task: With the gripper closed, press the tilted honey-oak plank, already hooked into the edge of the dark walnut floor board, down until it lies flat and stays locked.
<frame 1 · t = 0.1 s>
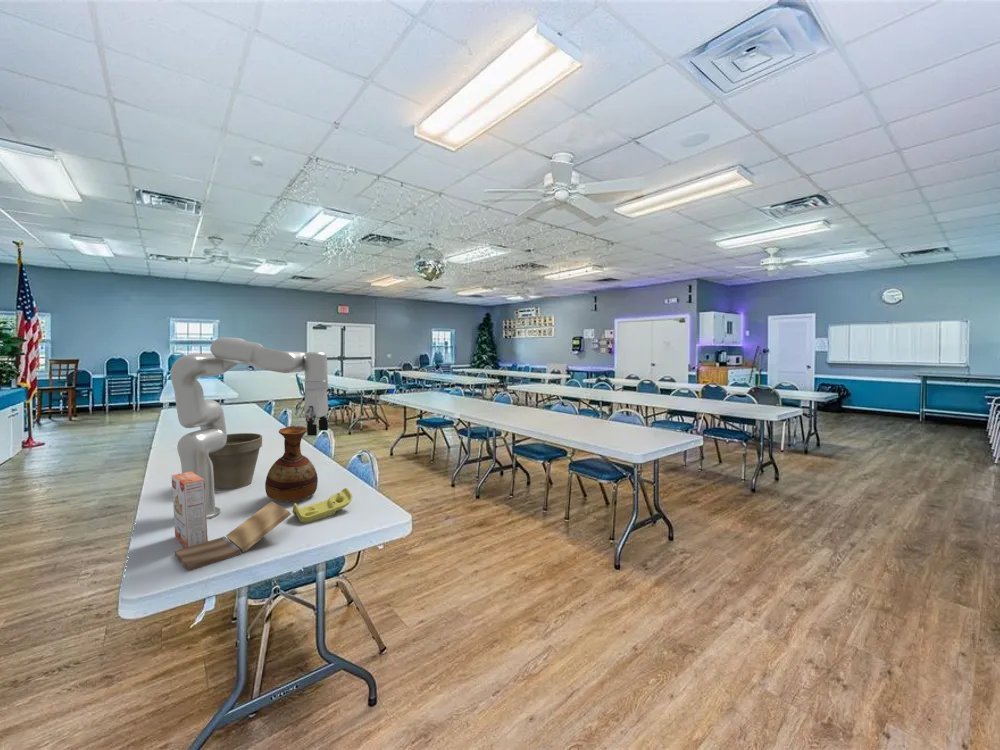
hand: (318, 432, 155), 31 cm above the table, tool pointing down, fingers open, 9 cm apart
plastic component: (324, 514, 160), on the table
oak plank: (258, 525, 138), point 5 cm above the table, hinge at 28.0°
ceramic pitcher: (292, 498, 177), on the table
plant pot: (232, 485, 194), on the table
walnut board: (207, 555, 127), on the table
cracker box: (190, 541, 138), on the table
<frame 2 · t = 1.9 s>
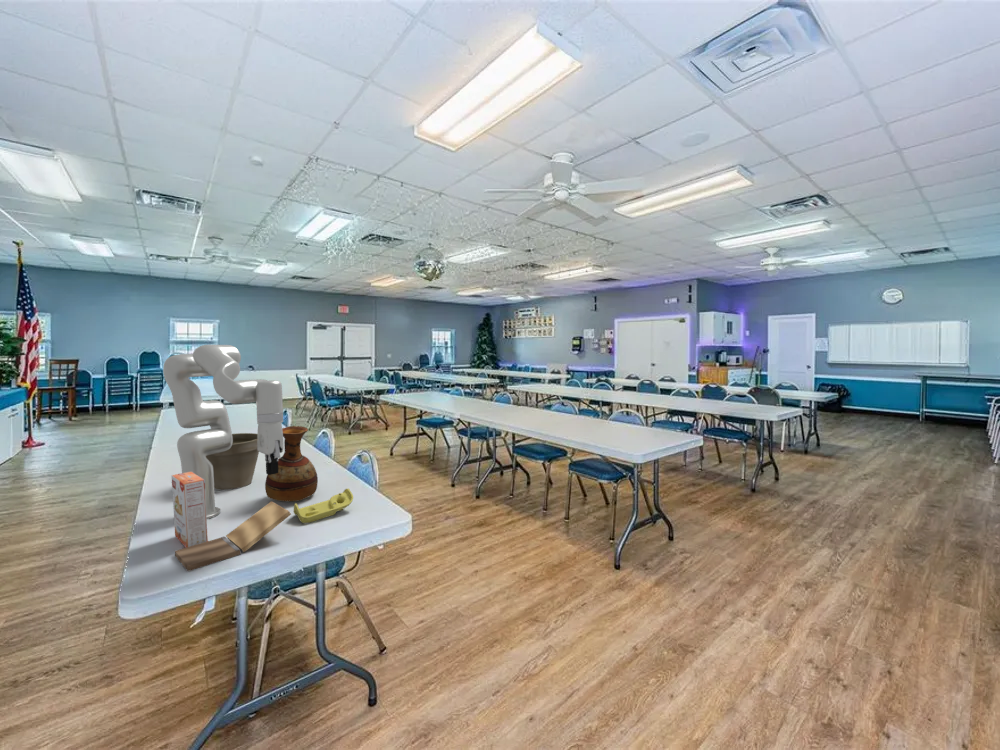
hand: (272, 473, 140), 21 cm above the table, tool pointing down, fingers closed
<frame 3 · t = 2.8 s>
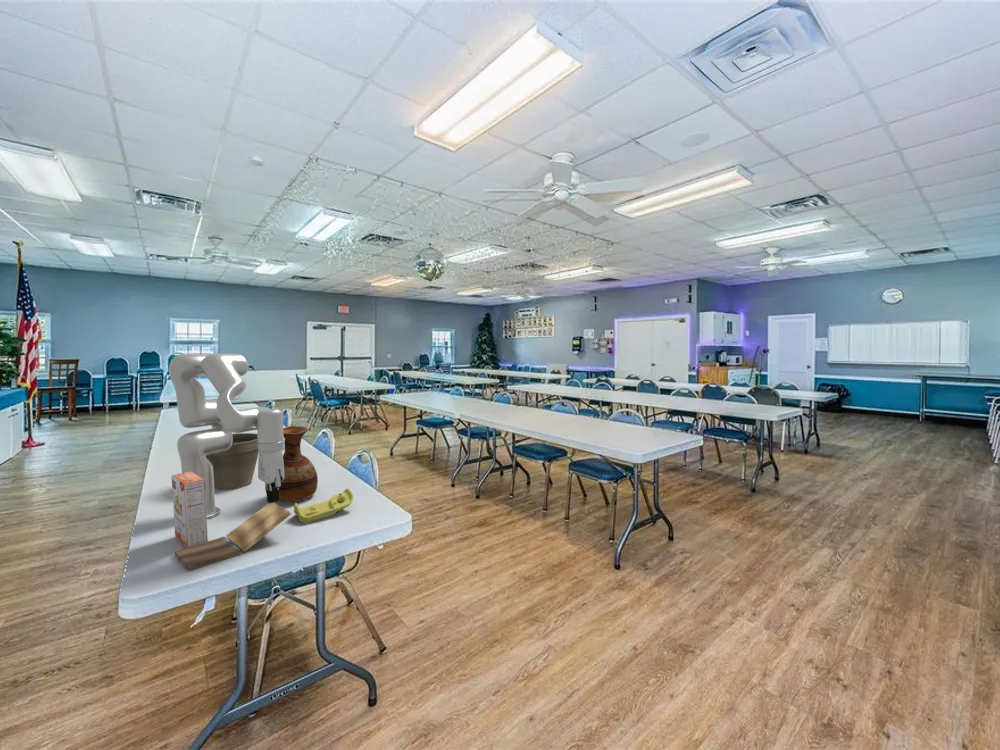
hand: (273, 501, 141), 11 cm above the table, tool pointing down, fingers closed
nothing on the table moved.
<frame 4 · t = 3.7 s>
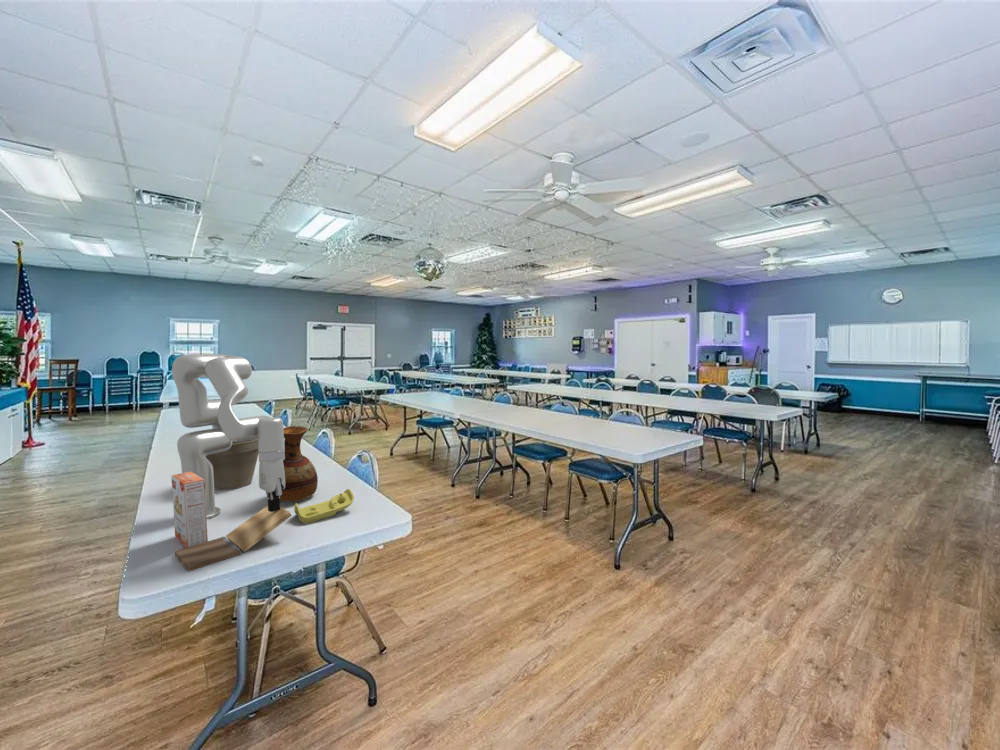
hand: (274, 510, 141), 8 cm above the table, tool pointing down, fingers closed
oak plank: (258, 525, 138), point 4 cm above the table, hinge at 26.4°, touching gripper
everything else where it was.
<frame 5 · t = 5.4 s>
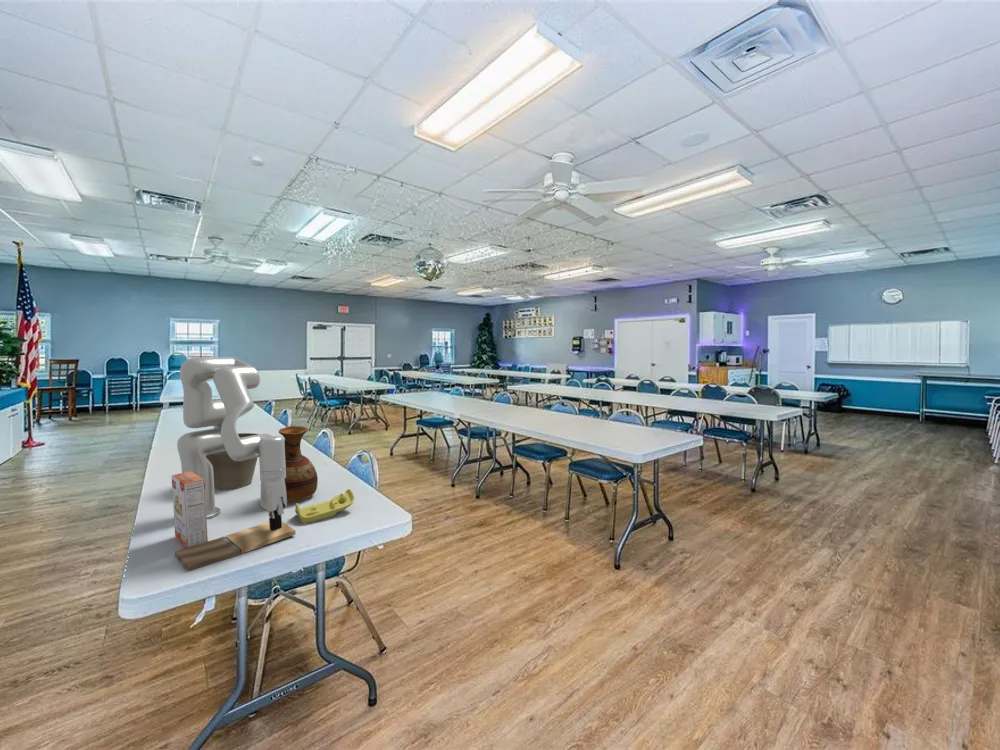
hand: (275, 528, 141), 2 cm above the table, tool pointing down, fingers closed
oak plank: (261, 535, 139), point 1 cm above the table, hinge at 2.4°, touching gripper
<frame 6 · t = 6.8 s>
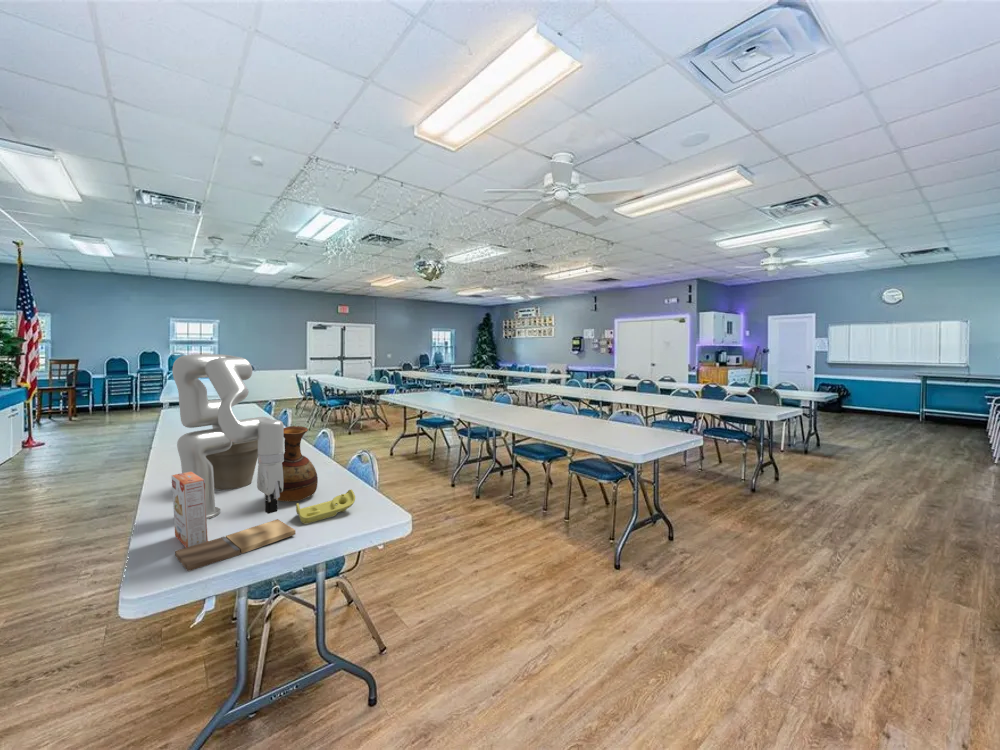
hand: (271, 511, 142), 8 cm above the table, tool pointing down, fingers closed
oak plank: (261, 535, 139), point 1 cm above the table, hinge at 2.3°
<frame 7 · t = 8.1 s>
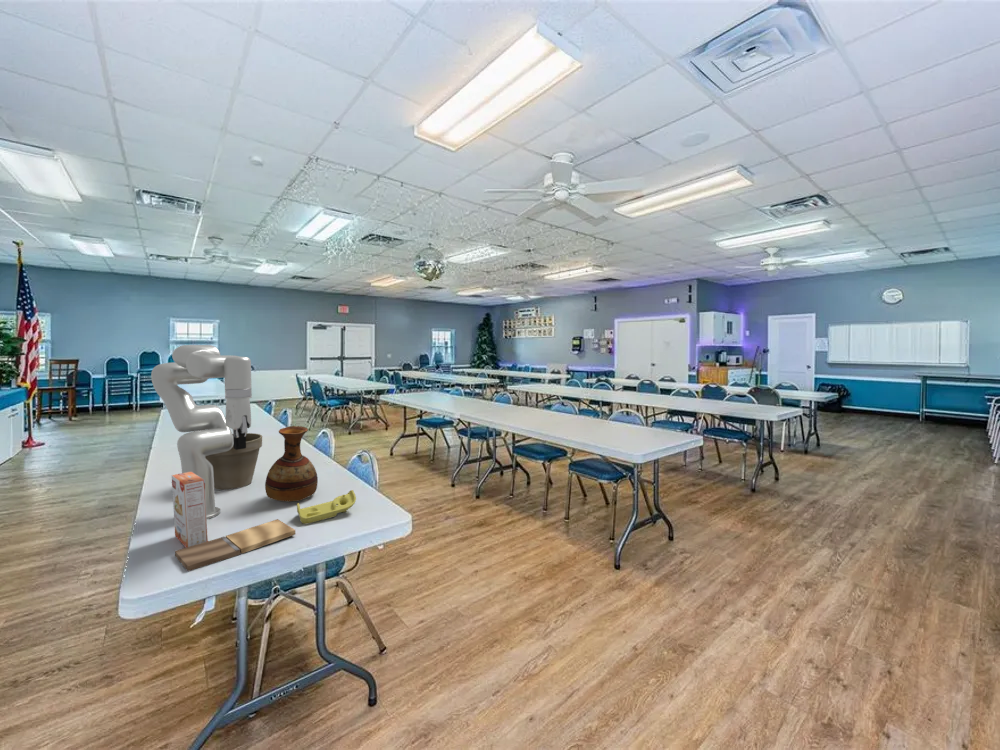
hand: (239, 448, 142), 29 cm above the table, tool pointing down, fingers closed
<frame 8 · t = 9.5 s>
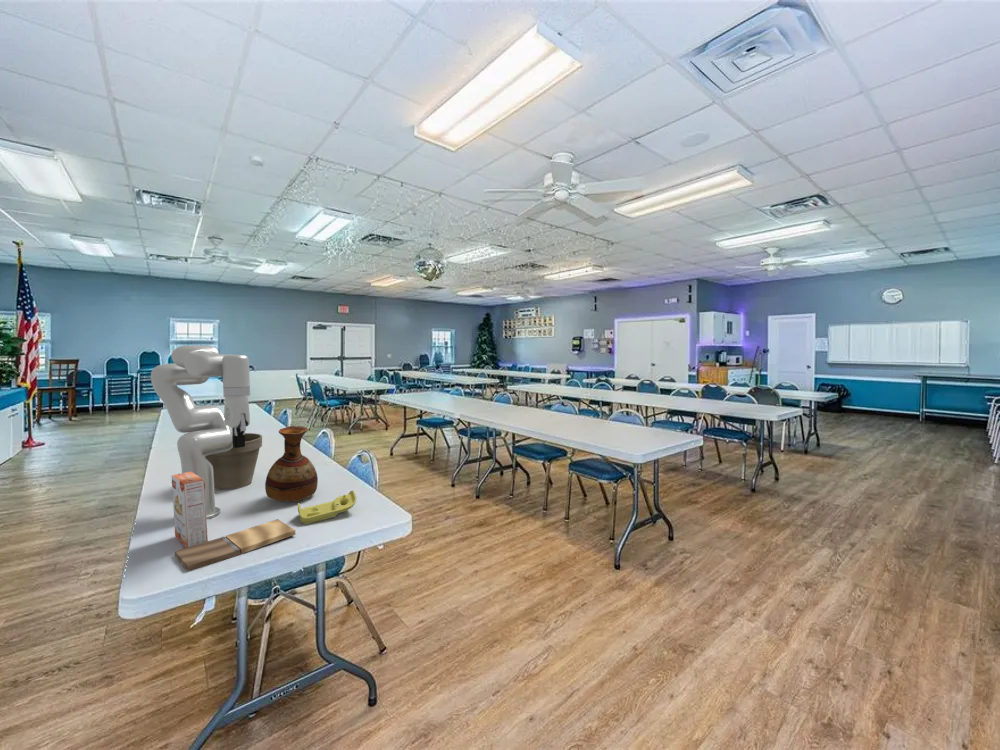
hand: (238, 447, 142), 29 cm above the table, tool pointing down, fingers closed
at the end: oak plank at +2° (first picture: +28°); cracker box moved 0.2 cm from its start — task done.
